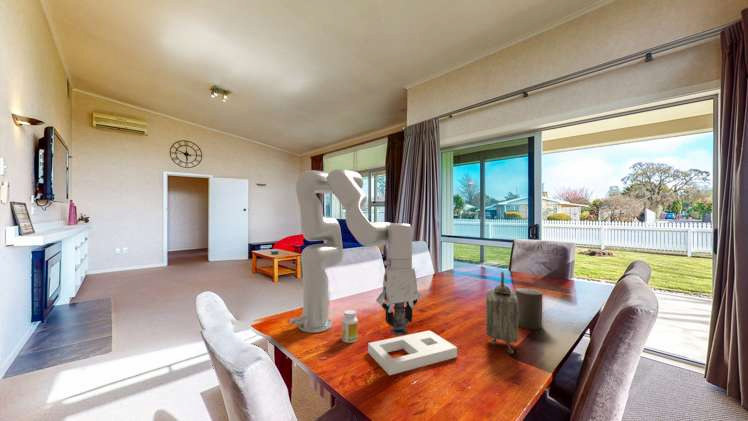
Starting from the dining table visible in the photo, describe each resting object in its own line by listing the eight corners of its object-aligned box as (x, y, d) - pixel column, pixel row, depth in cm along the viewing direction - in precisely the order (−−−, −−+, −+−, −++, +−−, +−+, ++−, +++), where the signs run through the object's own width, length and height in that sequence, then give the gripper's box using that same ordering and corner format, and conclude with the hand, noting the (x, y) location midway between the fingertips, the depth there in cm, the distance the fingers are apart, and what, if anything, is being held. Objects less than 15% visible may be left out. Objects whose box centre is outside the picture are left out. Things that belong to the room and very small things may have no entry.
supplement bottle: (359, 337, 104) (360, 310, 103) (353, 344, 98) (354, 315, 98) (345, 335, 105) (346, 308, 105) (339, 341, 100) (339, 313, 100)
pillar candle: (536, 332, 110) (537, 292, 110) (510, 324, 118) (511, 286, 118) (545, 325, 117) (546, 288, 117) (520, 318, 124) (521, 283, 124)
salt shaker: (407, 336, 86) (408, 296, 86) (388, 335, 87) (388, 294, 87) (409, 328, 92) (409, 290, 92) (391, 327, 93) (391, 289, 93)
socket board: (389, 375, 80) (389, 364, 80) (368, 352, 93) (368, 343, 93) (456, 357, 91) (457, 347, 91) (429, 338, 103) (429, 330, 103)
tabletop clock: (517, 358, 91) (518, 277, 91) (486, 352, 94) (487, 275, 94) (512, 338, 104) (514, 269, 104) (485, 334, 107) (486, 266, 107)
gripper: (380, 268, 82) (379, 331, 82) (429, 263, 90) (429, 322, 90) (369, 263, 89) (368, 322, 89) (416, 259, 97) (415, 314, 97)
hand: (399, 321), depth 89 cm, fingers closed on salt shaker, 5 cm apart
